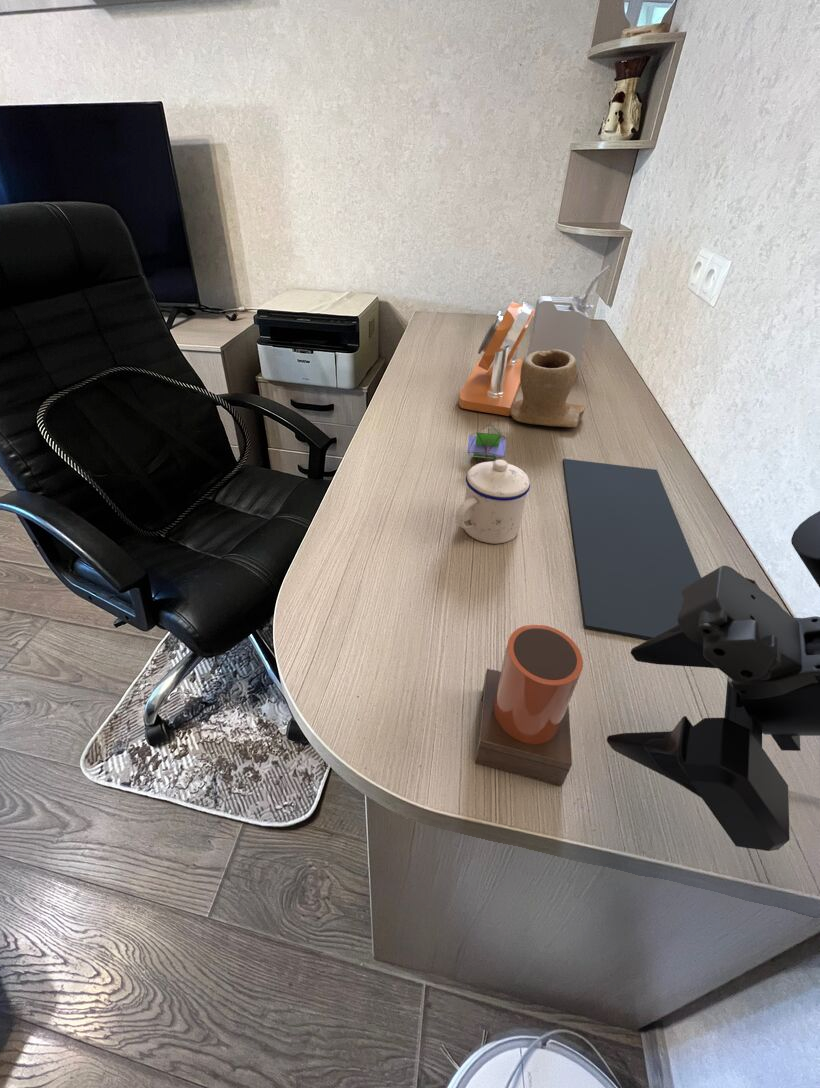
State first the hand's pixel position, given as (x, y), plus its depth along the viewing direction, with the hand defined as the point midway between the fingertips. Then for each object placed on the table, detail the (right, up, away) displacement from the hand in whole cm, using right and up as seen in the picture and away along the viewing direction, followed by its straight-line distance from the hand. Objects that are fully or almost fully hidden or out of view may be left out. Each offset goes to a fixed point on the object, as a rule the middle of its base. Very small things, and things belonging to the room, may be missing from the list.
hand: (622, 695), depth 40 cm
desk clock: (+10, +41, +80) cm, 91 cm away
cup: (-5, -5, +8) cm, 10 cm away
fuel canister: (+28, +48, +91) cm, 107 cm away
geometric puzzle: (+1, +22, +53) cm, 57 cm away
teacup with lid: (-3, +10, +36) cm, 38 cm away
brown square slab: (-5, -8, +10) cm, 14 cm away
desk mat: (+18, +10, +35) cm, 41 cm away
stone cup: (+17, +31, +66) cm, 74 cm away
